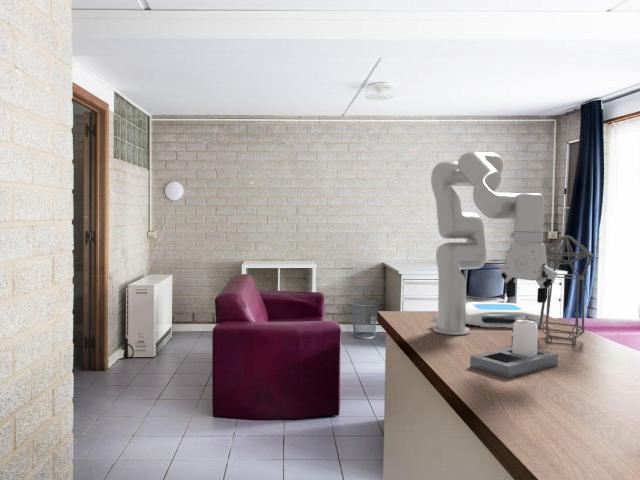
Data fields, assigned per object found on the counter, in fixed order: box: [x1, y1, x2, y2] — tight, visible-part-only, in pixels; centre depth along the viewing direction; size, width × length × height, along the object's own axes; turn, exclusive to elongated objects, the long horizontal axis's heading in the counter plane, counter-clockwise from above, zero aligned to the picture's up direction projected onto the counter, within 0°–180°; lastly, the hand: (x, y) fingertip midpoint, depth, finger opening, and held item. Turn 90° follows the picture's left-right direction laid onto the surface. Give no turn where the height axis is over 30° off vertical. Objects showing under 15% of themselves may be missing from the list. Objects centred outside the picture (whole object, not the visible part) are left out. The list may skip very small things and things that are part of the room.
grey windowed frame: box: [469, 346, 559, 379], centre depth 140 cm, size 12×22×3 cm, turn 124°
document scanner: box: [466, 301, 544, 329], centre depth 198 cm, size 21×28×6 cm
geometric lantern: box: [538, 235, 596, 346], centre depth 167 cm, size 16×16×35 cm
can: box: [511, 318, 539, 357], centre depth 143 cm, size 6×6×12 cm
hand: (525, 299), depth 142 cm, fingers open, 9 cm apart
